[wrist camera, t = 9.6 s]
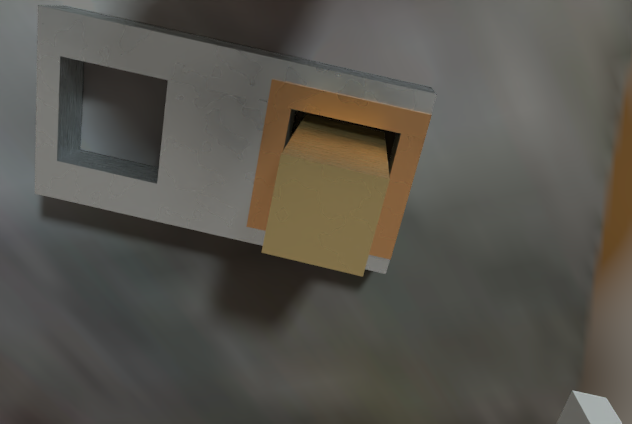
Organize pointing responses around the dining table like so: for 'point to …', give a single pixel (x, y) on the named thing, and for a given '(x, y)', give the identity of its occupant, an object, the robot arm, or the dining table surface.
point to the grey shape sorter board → (209, 125)
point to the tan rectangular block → (328, 195)
